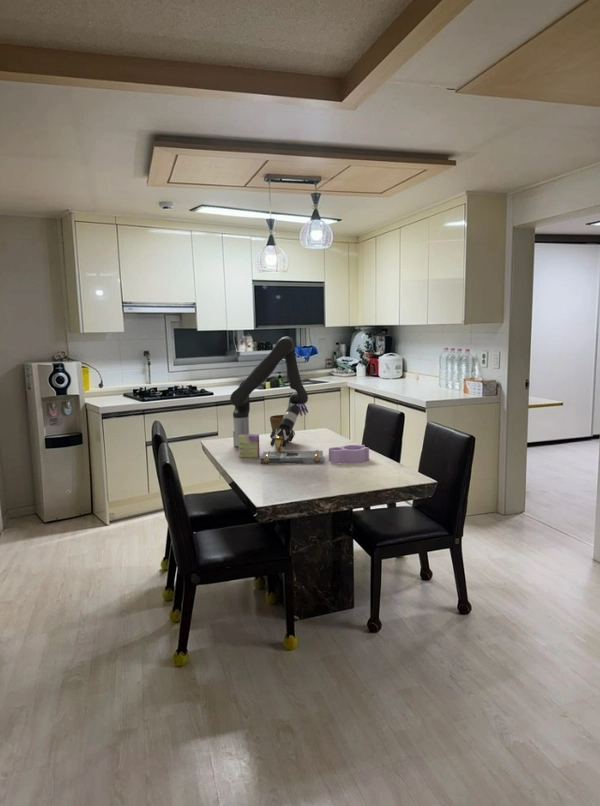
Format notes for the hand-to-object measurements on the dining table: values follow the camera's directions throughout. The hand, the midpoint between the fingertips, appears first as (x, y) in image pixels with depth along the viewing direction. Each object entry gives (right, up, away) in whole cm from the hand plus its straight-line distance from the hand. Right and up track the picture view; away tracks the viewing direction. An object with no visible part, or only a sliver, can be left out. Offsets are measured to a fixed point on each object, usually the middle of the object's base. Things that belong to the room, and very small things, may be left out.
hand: (277, 446), depth 283 cm
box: (-15, -6, 0) cm, 16 cm away
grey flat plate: (+8, -6, -10) cm, 15 cm away
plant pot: (+2, -1, +30) cm, 30 cm away
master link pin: (+1, -5, +2) cm, 5 cm away
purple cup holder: (+38, -7, -14) cm, 41 cm away
